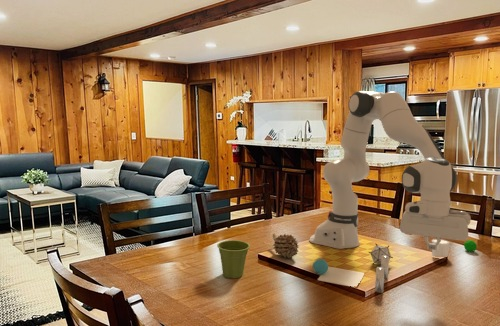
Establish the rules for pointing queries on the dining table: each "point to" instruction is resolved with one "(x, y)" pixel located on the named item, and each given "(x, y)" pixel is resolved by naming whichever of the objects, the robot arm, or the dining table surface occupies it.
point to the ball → (320, 266)
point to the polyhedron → (470, 246)
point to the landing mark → (341, 277)
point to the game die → (379, 253)
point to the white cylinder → (441, 248)
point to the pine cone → (285, 245)
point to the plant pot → (233, 257)
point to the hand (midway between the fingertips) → (431, 249)
